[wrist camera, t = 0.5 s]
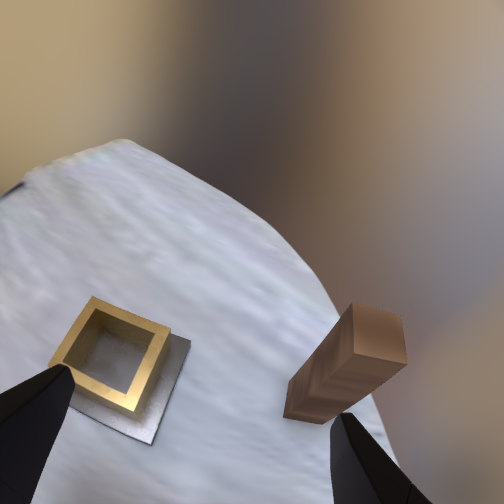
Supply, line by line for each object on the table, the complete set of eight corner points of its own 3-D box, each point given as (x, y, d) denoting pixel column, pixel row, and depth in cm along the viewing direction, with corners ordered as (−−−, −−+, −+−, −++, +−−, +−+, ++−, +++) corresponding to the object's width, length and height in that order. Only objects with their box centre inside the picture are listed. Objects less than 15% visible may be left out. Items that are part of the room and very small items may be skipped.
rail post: (322, 424, 23) (407, 364, 15) (283, 417, 23) (353, 353, 15) (325, 389, 26) (400, 315, 18) (289, 381, 26) (352, 301, 18)
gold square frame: (151, 446, 19) (146, 436, 16) (46, 391, 19) (26, 370, 16) (190, 345, 27) (193, 320, 24) (96, 307, 27) (88, 279, 24)
